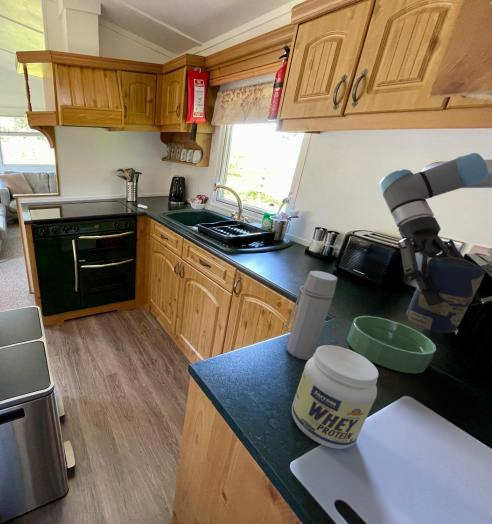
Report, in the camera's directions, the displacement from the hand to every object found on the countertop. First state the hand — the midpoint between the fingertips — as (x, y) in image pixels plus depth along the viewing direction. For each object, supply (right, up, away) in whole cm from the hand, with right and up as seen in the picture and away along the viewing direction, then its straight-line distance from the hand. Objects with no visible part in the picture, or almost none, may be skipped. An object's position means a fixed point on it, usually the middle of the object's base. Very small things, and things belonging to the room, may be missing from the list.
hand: (454, 304), depth 67 cm
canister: (-1, -6, +6) cm, 9 cm away
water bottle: (-27, -17, +19) cm, 37 cm away
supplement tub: (-35, -25, -5) cm, 43 cm away
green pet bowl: (+1, -18, +21) cm, 27 cm away
